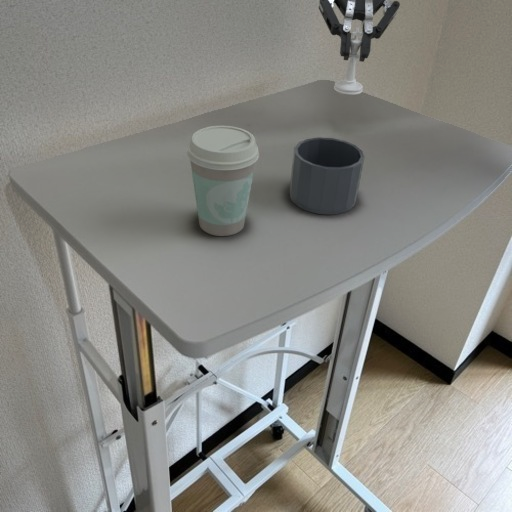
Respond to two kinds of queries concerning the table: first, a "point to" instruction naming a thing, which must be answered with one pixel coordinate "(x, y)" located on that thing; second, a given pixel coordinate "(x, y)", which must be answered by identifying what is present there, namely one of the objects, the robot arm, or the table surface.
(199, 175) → the coffee cup
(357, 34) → the chess piece
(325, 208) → the tumbler
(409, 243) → the table surface
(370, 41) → the robot arm
